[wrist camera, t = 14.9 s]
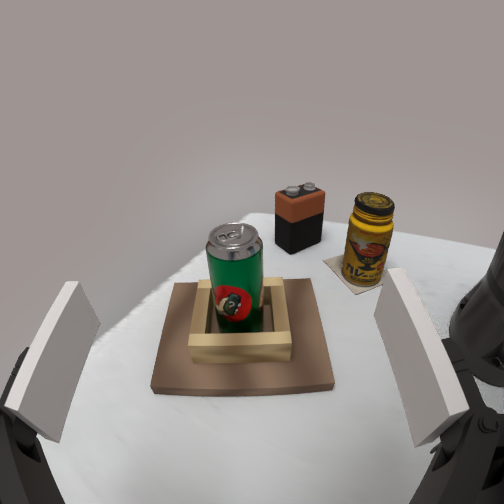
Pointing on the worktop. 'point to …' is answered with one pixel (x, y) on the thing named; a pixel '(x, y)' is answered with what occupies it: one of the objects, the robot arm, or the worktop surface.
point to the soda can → (236, 277)
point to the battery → (298, 216)
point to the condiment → (366, 243)
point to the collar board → (243, 345)
